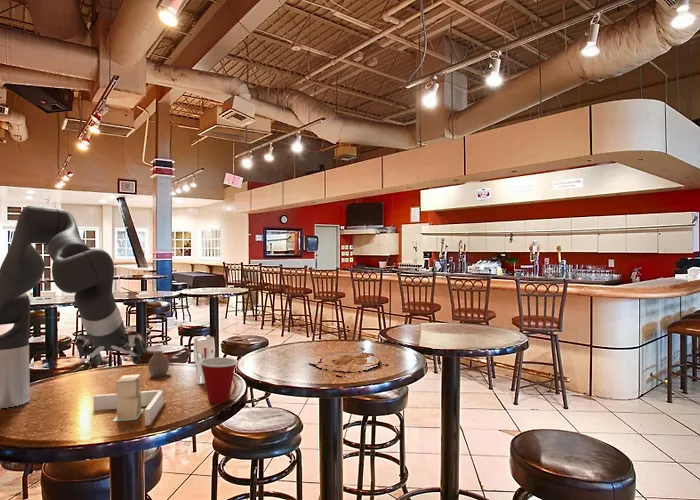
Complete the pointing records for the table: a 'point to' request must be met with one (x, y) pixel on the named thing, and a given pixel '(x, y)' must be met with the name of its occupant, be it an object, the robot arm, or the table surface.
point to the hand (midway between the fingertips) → (117, 361)
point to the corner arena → (148, 398)
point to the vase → (158, 364)
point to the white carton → (202, 355)
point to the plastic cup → (218, 378)
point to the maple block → (128, 396)
